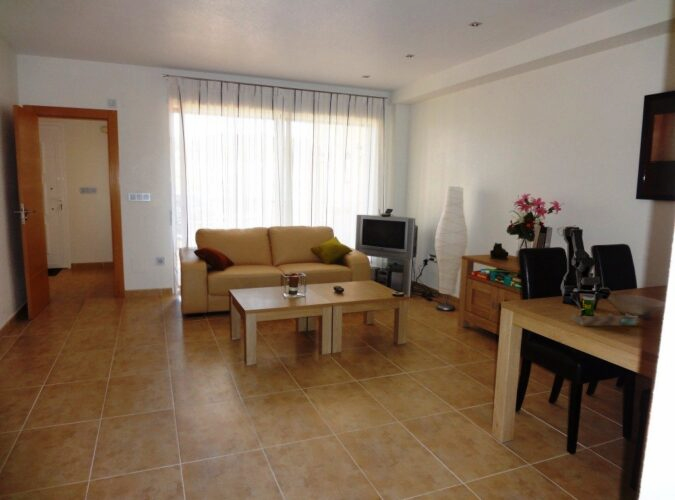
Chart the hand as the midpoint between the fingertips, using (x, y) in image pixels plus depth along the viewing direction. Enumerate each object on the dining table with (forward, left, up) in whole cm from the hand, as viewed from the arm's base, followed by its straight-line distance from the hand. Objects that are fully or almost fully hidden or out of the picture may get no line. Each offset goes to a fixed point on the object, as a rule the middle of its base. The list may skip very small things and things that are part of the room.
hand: (588, 309), depth 202 cm
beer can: (0, +1, -7) cm, 7 cm away
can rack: (+6, +5, -7) cm, 11 cm away
